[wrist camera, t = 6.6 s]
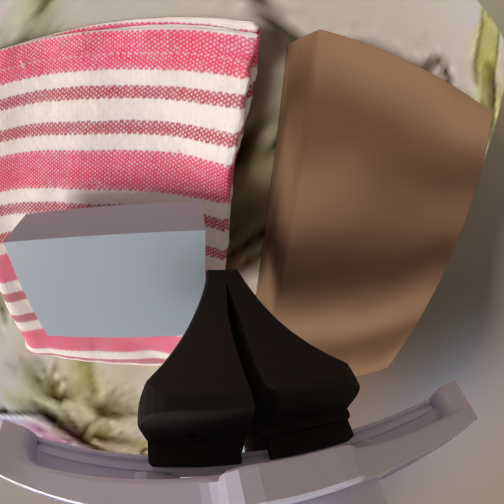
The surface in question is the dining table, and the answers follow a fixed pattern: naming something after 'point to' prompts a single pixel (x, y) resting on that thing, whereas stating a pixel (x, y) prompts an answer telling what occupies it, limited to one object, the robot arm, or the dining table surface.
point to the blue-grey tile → (112, 268)
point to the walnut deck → (364, 196)
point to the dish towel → (122, 140)
